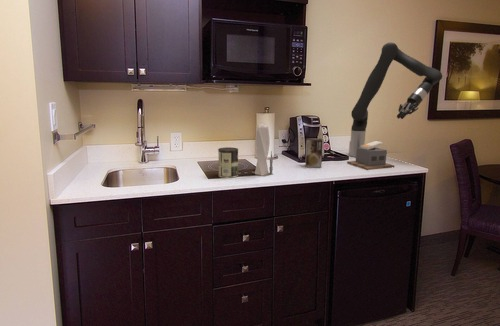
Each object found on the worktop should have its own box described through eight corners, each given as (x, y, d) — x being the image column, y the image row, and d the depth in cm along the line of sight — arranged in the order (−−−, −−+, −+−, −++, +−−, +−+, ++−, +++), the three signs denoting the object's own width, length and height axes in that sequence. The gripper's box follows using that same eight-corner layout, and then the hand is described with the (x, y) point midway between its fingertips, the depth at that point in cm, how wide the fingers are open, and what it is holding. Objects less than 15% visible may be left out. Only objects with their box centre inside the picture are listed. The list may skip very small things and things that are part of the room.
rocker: (361, 148, 217) (360, 145, 217) (376, 143, 221) (375, 140, 220) (367, 149, 212) (367, 146, 211) (383, 144, 215) (382, 142, 215)
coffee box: (320, 165, 217) (321, 138, 213) (321, 167, 211) (323, 140, 207) (304, 164, 218) (306, 138, 214) (305, 167, 211) (306, 139, 208)
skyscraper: (262, 177, 188) (264, 123, 182) (251, 174, 193) (252, 121, 187) (273, 174, 194) (274, 121, 188) (261, 172, 199) (262, 120, 194)
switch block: (355, 162, 222) (356, 145, 219) (371, 160, 226) (373, 145, 224) (369, 166, 210) (370, 149, 208) (385, 164, 215) (387, 148, 213)
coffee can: (235, 172, 196) (235, 146, 193) (240, 177, 186) (240, 150, 183) (216, 173, 193) (216, 147, 190) (220, 178, 184) (220, 151, 181)
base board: (347, 163, 223) (347, 161, 223) (373, 161, 230) (373, 159, 230) (366, 169, 207) (366, 167, 206) (394, 167, 214) (394, 165, 214)
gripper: (405, 92, 226) (388, 112, 224) (423, 93, 214) (405, 114, 212) (411, 101, 229) (393, 121, 227) (429, 102, 217) (411, 123, 215)
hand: (399, 117), depth 220 cm, fingers closed
